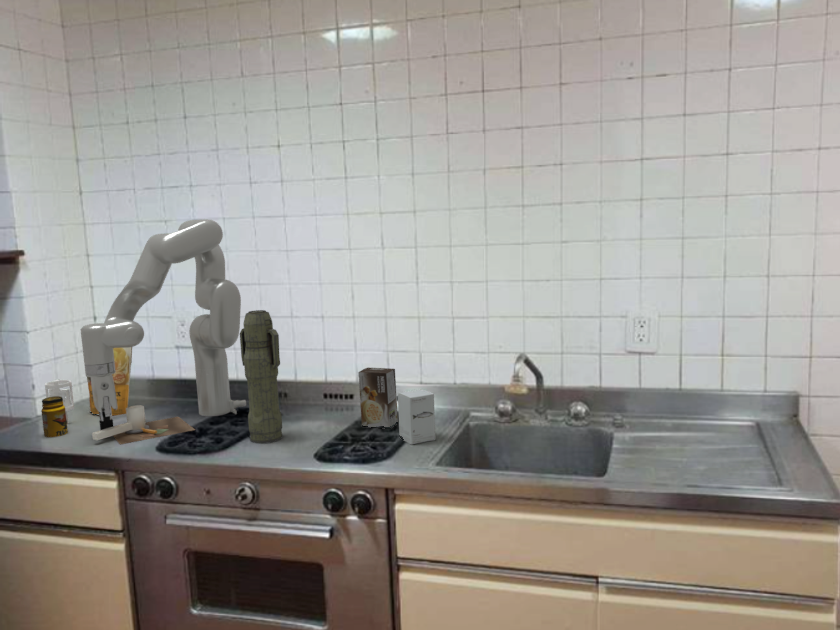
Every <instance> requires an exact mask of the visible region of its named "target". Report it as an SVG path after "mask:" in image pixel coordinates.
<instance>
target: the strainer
mask: <svg viewBox="0 0 840 630" xmlns="http://www.w3.org/2000/svg"><path fill="white" fill-rule="evenodd" d="M44 387H45V388H44V390H45V398H48V397H53V396H60V397H62V398H63V405H64V406H65V411H66V419H67V425H68V424H69V419H68V418H69V417H68V412H69V411H72V410H74V409H75V403H74V394H73V393H74V392H73V386H72V380H70V379H59V378H58V379H54V380H52V381H51V380H50V381H47V382H45V383H44ZM66 388H67V389H66Z"/></svg>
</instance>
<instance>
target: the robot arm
mask: <svg viewBox="0 0 840 630" xmlns="http://www.w3.org/2000/svg"><path fill="white" fill-rule="evenodd" d="M223 233H224V232H223V228H222V227H221V225H220V224H219V223H218V222H216V221H215V220H212V219H205V218H204V219H191V220H186V221H184V222H182V223H181V224H180V225H179V227H178V230H177V231H174V232H173V231H172V232H170V233H166V232H165V233H157V234H153V235H152V236H150V237H149V238H148V240H147V241H146V243H145V244H144V247H143V250H142V252H141V255H140V256H139V259H138V261H137V264H136V265H135V268H134V270H133V272H132V275H131V277H130V279H129V281H128V282H127V283H126V285H125V286H124V287H123V288H122V290H121V291H120V292H119V294H118V295H117V296H116V297H115V299H114V301H113V303H112V304H111V306H110V309H109V310H108V312H107V315H106V318H105V320H104V322H102V323H100V322H99V323H98V322H97V323H96V322H95V323H89V324H85V325H83V326H82V327H81V328H80V337H81V345H82V346H81V347H82V348H81V349H82V354H83V364H84V373H85V377H86V378H87V377H91V386H92V394H93V400H94V405H95V407H96V409H97V410H98V411H99V415H98V417H99V421H98V423H99V431H100V430H103V429H107V428H110V427H113V426H114V422H113V421H114V420H113V416H112V412H111V407H112V408H113V409H115V410H117V408H118V406H117V400H116V393H115V386H114V380H113V376H112V374H114V373H116V370H115V361H114V352H113V348H128V347H132V348H133V347H136V346H138V345H139V344H140V343H142V341H143V340H144V337H145V330H144V328H143V326H142V325H141V323H138V322H137V321H135V320H134V319H135V317H136V316H137V314H138V312H139V311H140V310H141V308H142V307H143V306H144V305H145V304H147V302H149V301H150V300H152V299H154V298H155V297H156V296H157V295H158V294H159V293H161V290H162V288H163V286H164V283H165V281H166V278H167V276H168V273H169V271H170V270H171V269H170V268H172V267H171V266H172V265H173V264H180V263H183V262H186V261H188V260H191V259H193V258H194V260H195V289H194V290H195V291H194V299H195V302H196V304H197V306H198V307H200V308H201V309H203V310H207V311H209V313H208V314H201V315H199V316H196V317H195V318H194V319H193V320H192V322H191V323H190V325H189V333H188V334H189V339H190V344H191V348H192V351H193V358H194V371H195V378H196V379H195V381H196V383H195V384H196V392H197V393H196V394H197V405H198V415H199V416H202V417H218V416H223V415H227V414H229V413H232V414H234V415H237V414H238V413H237V410H236V409H237V408H239V407H240V408H241V407H246V406H247V401H246V399H242V400H240V399H237V400H232V398H231V393H230V392H231V391H230V379H229V367H228V366H229V365H228V356H227V351H226V349H229V348H231V347H232V346H234V345H235V344H236V342H237V341H238V338H239V336H240V329H241V328H240V327H241V307H242V304H241V303H242V302H241V301H242V299H241V293H240V290H239V288H238V286H237V285H236V284H235V283H234V282H233V281H231V280H228V279H226V259H225V255H224V252H223V249H222V247H221V246H220V244H221V242H222V241H223V237H224V234H223Z"/></svg>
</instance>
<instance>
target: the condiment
mask: <svg viewBox="0 0 840 630" xmlns="http://www.w3.org/2000/svg"><path fill="white" fill-rule="evenodd" d="M41 403H42V405H41V407H42V408H41V411H40V412H41V419H42V428H43V435H44V438H57V437H61V436H65V435H68V431H69V430H68V424H67V419H66V411H65V406H64V405H63V398H62V397H60V396H53V397H48V398H46V397H44V398H43V399H41Z"/></svg>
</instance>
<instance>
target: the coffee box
mask: <svg viewBox="0 0 840 630" xmlns="http://www.w3.org/2000/svg"><path fill="white" fill-rule="evenodd" d="M357 373H358V375H357V376H358V384H359V385H358V390H359V402H360V418H361V419H360V420H361V426H362V425H363V426H368V427H367V428H371V427H376V426H384V427H390V426H392V425H393V424H395V423H396V422H398V423H399V414H398V396H397V385H396V383H397V382H396V369H395V368H390V367H387V368H385V367H366V368H363V369H361V370H359V371H358V372H357Z"/></svg>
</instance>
